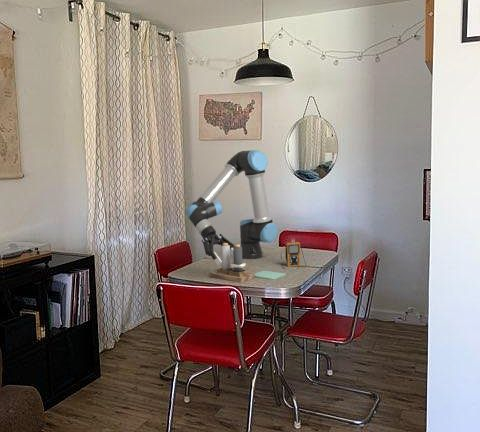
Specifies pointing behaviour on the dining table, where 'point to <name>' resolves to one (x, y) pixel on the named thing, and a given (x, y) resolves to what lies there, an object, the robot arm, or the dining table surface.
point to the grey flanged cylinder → (237, 259)
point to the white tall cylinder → (225, 256)
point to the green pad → (269, 275)
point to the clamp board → (232, 275)
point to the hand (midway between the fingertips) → (229, 261)
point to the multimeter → (293, 253)
